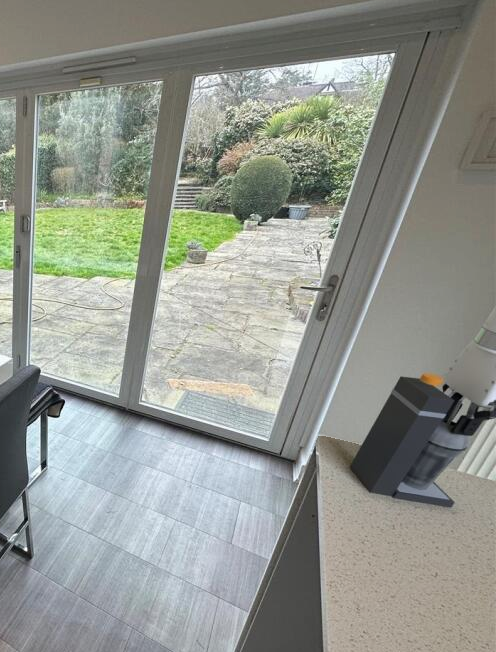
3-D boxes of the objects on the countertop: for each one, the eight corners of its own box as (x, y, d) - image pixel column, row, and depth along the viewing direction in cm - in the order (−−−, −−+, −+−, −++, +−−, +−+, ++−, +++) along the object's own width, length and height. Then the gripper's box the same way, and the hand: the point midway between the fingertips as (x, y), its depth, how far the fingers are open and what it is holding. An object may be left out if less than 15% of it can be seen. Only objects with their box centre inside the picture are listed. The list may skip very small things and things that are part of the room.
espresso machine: (420, 476, 90) (482, 384, 80) (451, 507, 83) (525, 410, 72) (347, 465, 93) (398, 374, 82) (371, 494, 85) (430, 398, 75)
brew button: (433, 379, 78) (436, 374, 78) (444, 386, 76) (447, 381, 75) (416, 377, 79) (419, 372, 78) (426, 384, 77) (429, 379, 76)
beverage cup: (394, 486, 86) (444, 406, 77) (385, 465, 91) (431, 389, 82) (441, 500, 82) (499, 419, 73) (429, 477, 88) (482, 400, 79)
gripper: (584, 368, 64) (512, 458, 72) (492, 326, 78) (441, 405, 87) (525, 361, 65) (461, 450, 74) (446, 322, 80) (400, 400, 88)
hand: (451, 425), depth 80 cm, fingers open, 4 cm apart
